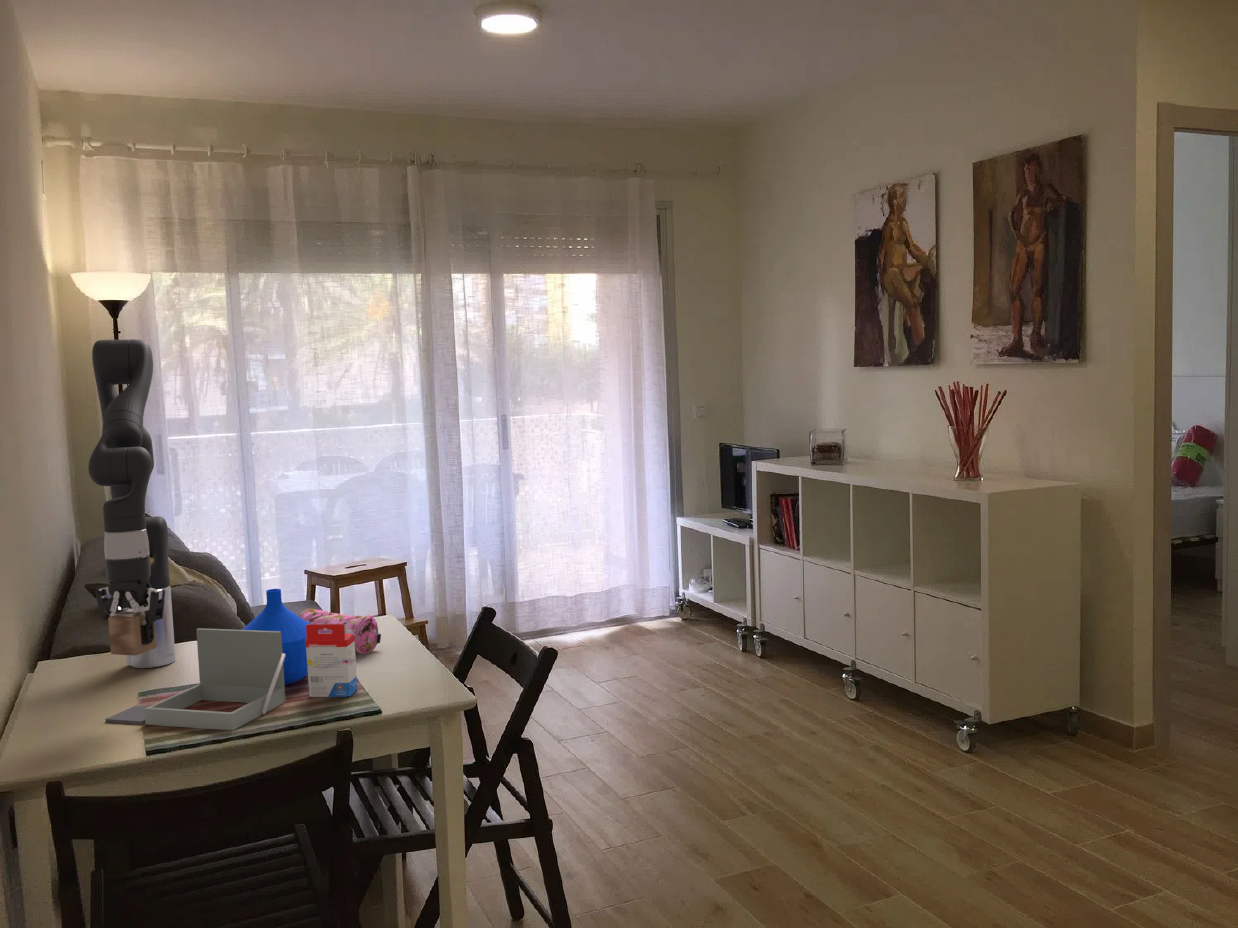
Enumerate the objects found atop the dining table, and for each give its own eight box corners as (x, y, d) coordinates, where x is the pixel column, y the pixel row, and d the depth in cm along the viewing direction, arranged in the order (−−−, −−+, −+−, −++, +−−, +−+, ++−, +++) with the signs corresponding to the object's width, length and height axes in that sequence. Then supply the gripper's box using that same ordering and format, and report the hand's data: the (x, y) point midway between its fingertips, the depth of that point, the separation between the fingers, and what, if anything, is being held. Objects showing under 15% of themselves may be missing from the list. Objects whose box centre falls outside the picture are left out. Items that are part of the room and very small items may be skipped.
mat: (105, 721, 191) (105, 718, 191) (136, 708, 198) (135, 705, 198) (141, 724, 189) (141, 721, 189) (171, 710, 196) (171, 707, 196)
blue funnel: (215, 682, 214) (210, 592, 213) (294, 662, 228) (289, 578, 226) (261, 698, 202) (256, 603, 201) (341, 676, 216) (336, 587, 214)
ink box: (358, 690, 206) (354, 618, 205) (349, 697, 201) (345, 624, 200) (317, 690, 207) (313, 618, 206) (307, 697, 202) (303, 624, 201)
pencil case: (385, 649, 238) (383, 611, 238) (357, 659, 230) (355, 620, 230) (319, 640, 249) (316, 604, 248) (289, 649, 241) (287, 612, 240)
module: (110, 654, 191) (108, 614, 190) (132, 646, 196) (129, 608, 195) (135, 655, 189) (132, 615, 189) (156, 647, 194) (153, 608, 194)
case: (145, 724, 189) (140, 649, 188) (203, 697, 204) (199, 628, 203) (236, 730, 184) (232, 653, 182) (289, 702, 199) (285, 631, 198)
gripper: (80, 557, 189) (86, 646, 191) (145, 558, 186) (152, 649, 187) (110, 550, 197) (116, 636, 198) (173, 551, 193) (179, 639, 194)
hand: (133, 642), depth 192 cm, fingers closed on module, 5 cm apart
